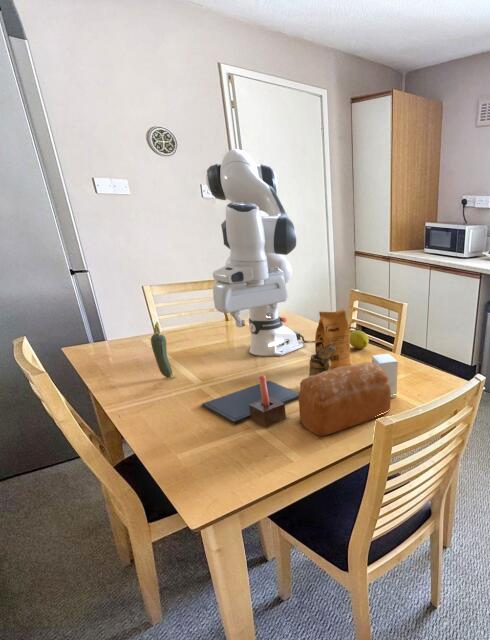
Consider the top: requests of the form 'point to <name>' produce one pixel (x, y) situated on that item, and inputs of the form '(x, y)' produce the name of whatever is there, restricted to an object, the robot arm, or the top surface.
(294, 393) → the tablet
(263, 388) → the red rod
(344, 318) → the coffee package
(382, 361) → the small box
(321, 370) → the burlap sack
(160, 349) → the vegetable
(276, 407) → the holder
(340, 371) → the bread
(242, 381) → the top surface
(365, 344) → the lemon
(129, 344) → the top surface
